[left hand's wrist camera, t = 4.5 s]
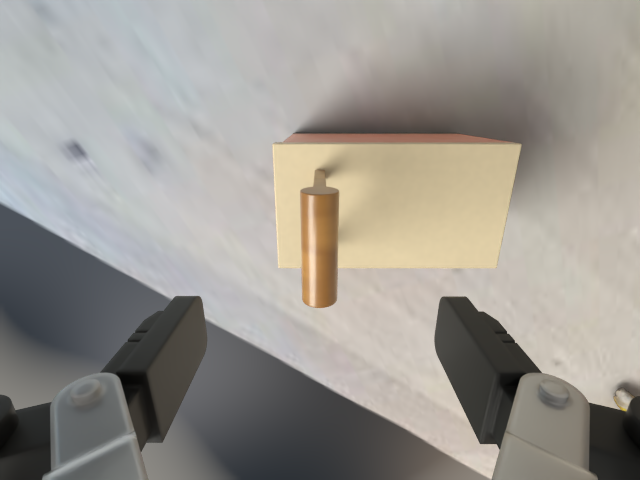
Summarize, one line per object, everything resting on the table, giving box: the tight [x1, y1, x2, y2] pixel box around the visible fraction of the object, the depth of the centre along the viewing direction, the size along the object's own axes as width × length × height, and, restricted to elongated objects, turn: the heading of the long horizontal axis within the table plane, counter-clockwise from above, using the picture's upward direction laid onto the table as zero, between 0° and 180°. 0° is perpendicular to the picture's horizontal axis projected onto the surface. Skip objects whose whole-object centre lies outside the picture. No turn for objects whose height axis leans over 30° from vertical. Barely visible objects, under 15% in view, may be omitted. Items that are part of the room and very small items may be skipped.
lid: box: [273, 142, 522, 308], centre depth 21 cm, size 16×9×9 cm, turn 90°
